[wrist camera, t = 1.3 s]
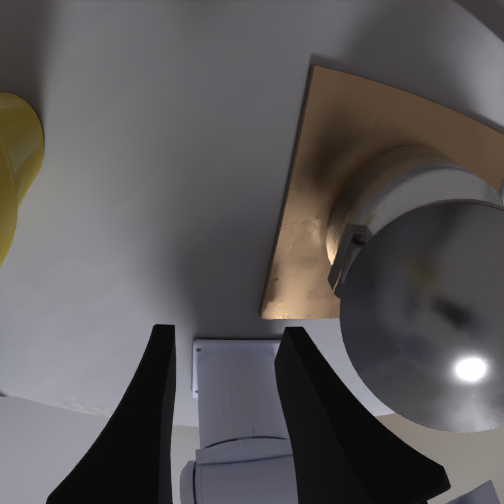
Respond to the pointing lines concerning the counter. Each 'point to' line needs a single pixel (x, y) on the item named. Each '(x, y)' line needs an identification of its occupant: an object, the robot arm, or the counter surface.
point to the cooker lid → (430, 314)
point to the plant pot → (16, 161)
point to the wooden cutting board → (366, 180)
